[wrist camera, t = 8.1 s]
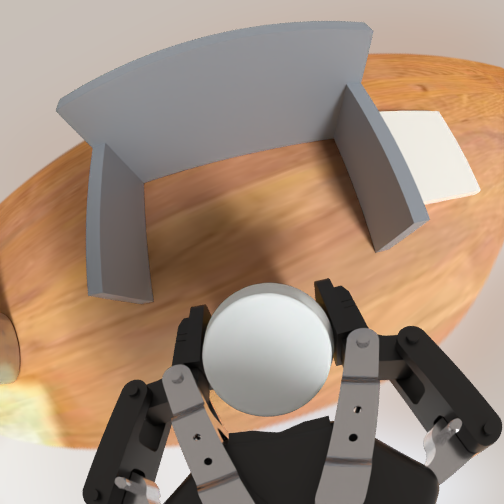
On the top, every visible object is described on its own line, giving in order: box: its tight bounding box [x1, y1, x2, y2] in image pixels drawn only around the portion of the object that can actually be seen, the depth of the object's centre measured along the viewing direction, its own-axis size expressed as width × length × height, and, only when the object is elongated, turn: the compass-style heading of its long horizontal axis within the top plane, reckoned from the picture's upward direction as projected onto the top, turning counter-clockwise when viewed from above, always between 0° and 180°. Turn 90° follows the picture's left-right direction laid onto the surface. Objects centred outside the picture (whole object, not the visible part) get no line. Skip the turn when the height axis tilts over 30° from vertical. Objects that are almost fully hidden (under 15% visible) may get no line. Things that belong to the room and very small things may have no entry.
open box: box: [56, 21, 430, 304], centre depth 16 cm, size 20×12×12 cm, turn 102°
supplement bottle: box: [202, 283, 334, 417], centre depth 12 cm, size 5×5×10 cm
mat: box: [379, 111, 481, 205], centre depth 21 cm, size 10×10×1 cm
